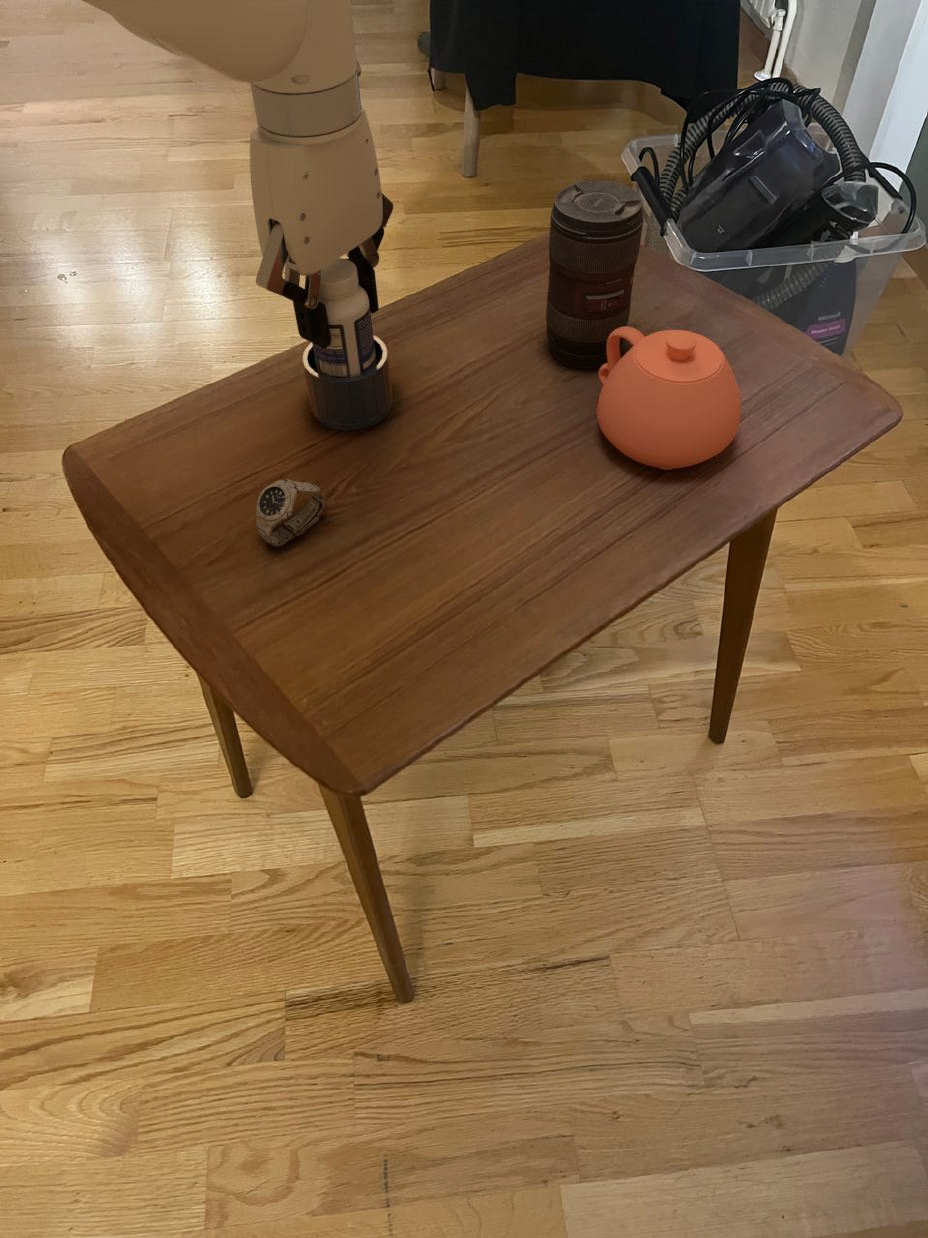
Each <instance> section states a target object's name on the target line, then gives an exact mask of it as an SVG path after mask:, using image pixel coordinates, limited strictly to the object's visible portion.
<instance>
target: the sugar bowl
mask: <svg viewBox="0 0 928 1238" xmlns="http://www.w3.org/2000/svg"><path fill="white" fill-rule="evenodd" d="M620 337H621V338H624V339H623V340H626V341H627V342H629V343H630V344H631V345H632V347H630V349H629V350H628V351H627V352H626V353H625V354H623V355H622V357H621V350H620V348H621V347H620V345H619V341H620ZM606 349H607V360H608V363H606V364H603V365H602V366H600V368H599V370H598V373H597V375H598V380H599V381H600V383H601V384H602V388H601V389H600V393H599V396H598V400H597V405H596V419H597V422H598V425H599V428H600V430H601V433H602V434H603V436H605V438H606V439H607V440H608V441H609V442H610V444H612V445H613V447H615V448H616V449H617V450H618V451H619V452H621V453H622V454H624V456H626V457H628V458H629V459H631V460H633V461H635V462H638V463H640V464H641V465H646V466H649V467H653V468H659V469H660V470H663V471H664V470H665V471H669V470H673V469H680V468H681V469H682V468H686V467H692V466H695V465H697V464H701V463H703V462H706V461H707V460H709V459H712V458H714V457H715V456H717V455H718V454H720V453H722V452H723V451H724V450H725V449H726V448H727V447H728V446H729V445H730V444H731V443H732V442H733V440H734V439H735V437H736V436H737V433H738V431H739V428H740V423H741V415H742V405H741V394H740V389H739V385H738V381H737V379H736V376H735V374H734V372H733V370H732V367H731V365H730V363H729V361H728V359H727V357H726V356H725V353H723V351H722V349H721V348H720V347H719V346H718V345H717V343H715V342H714V341H712V340H711V339H709V338H708V337H706V336H704V335H702V334H699V333H696V332H693V331H691V330H685V329H684V330H683V329H665V330H660V331H656V332H652V333H650V334H648V335H646V336H645V335H644V334H643V333H642V332H641V331H640V330H638V329H637V328H635V327H632V326H628V325H627V326H624V327H620V328H617V329H615V330H614V331H613V332H612V333H611V334H610V335H609V337H608V340H607V348H606Z"/></svg>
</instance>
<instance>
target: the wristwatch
mask: <svg viewBox="0 0 928 1238" xmlns="http://www.w3.org/2000/svg"><path fill="white" fill-rule="evenodd" d="M299 494H311V497H310V500H309V502H308V504H307V505H306V506H305V507H303V508H302V509H301V510H300V511H299V512H298V513H297V514H296V515H294V516H293V515H292V514H293V513H292V512H293V511H294V505H295V502H296V498H297V497H298V496H299ZM325 505H326V496H325V494H324V493H323V492H322V490H321V489H320V487H319V486H317V485H316V484H313V483H311V482H307V481H305V482H301V481H293V480H292V479H289V478H284V479H280V480H276V481H275V482H273V483H271V484H269V485H267V486H266V487H265V488H263V490H262V491H261V492H260V494H259V495H258V498H257V502H256V508H255V514H256V520H255V521H256V531H257V533H258V534H259V536H260V537H261V539H262V540H263V541H264V542H266V543H267V544H270V545H271V546H274V547H278V548H279V547H283V546H284V545H286V544H287V543H288V542H290V541H292V540H294V539H295V538H297V537H299V536H300V535H303V534H304V533H306V532H307V531H308V529H310V528H311V527H312V526H313V525H314V524H315V523H317V522H318V521H319V520H320V516H321V514H322V512H323V510H324V507H325ZM292 516H293V517H292ZM290 517H292V518H291V519H288V518H290ZM286 519H288V521H285V520H286ZM281 522H282V526H281V527H280V528H279V529H278V530H277V531H274V532H273V530H274V529H275V527H277V526H278V525H279V524H280V523H281Z"/></svg>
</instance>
